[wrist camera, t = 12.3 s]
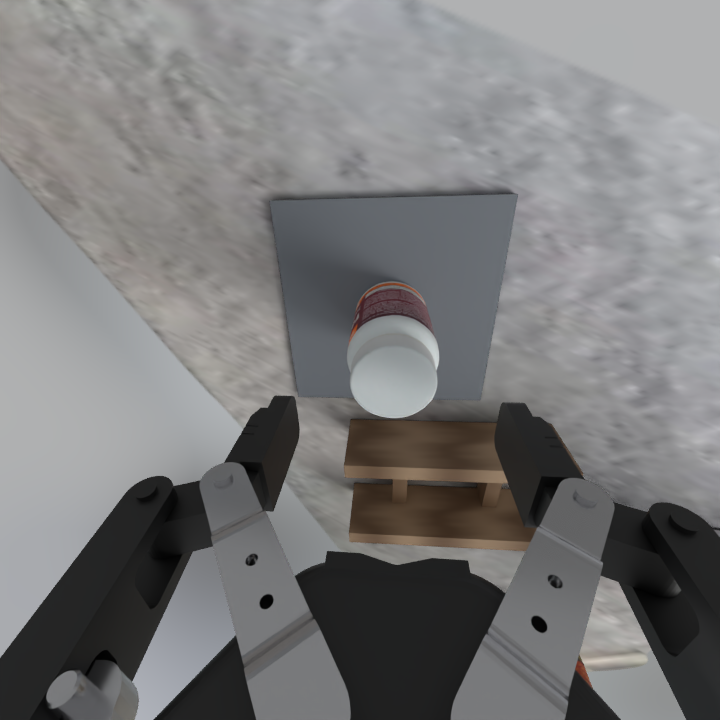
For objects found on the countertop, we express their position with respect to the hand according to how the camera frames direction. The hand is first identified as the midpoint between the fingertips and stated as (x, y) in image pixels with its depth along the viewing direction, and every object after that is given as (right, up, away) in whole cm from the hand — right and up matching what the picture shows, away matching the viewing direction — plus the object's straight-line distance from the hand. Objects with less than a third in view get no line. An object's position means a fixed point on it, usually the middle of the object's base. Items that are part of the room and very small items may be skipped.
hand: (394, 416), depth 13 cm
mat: (+1, +6, +10) cm, 11 cm away
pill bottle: (+1, +5, +9) cm, 11 cm away
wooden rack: (+6, -7, +16) cm, 19 cm away
